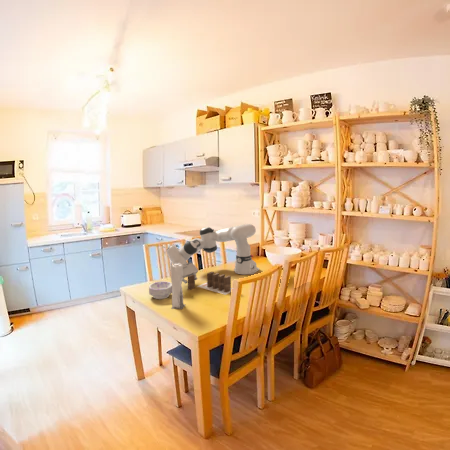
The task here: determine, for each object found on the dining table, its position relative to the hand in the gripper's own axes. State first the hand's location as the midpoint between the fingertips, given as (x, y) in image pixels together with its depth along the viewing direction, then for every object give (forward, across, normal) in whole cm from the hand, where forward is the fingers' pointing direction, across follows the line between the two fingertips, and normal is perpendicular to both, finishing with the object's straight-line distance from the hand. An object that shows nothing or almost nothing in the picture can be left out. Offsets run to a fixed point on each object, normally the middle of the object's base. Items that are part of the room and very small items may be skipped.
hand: (191, 281), depth 217 cm
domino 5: (+20, -11, +13) cm, 26 cm away
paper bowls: (0, +21, -10) cm, 23 cm away
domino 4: (+16, -11, +9) cm, 22 cm away
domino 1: (+4, 0, -4) cm, 6 cm away
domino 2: (+9, -11, +2) cm, 14 cm away
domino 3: (+13, -11, +6) cm, 18 cm away
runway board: (+14, -11, +5) cm, 18 cm away
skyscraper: (+14, +25, +4) cm, 29 cm away
